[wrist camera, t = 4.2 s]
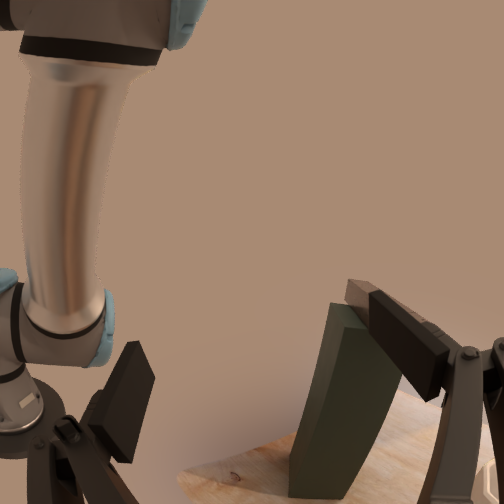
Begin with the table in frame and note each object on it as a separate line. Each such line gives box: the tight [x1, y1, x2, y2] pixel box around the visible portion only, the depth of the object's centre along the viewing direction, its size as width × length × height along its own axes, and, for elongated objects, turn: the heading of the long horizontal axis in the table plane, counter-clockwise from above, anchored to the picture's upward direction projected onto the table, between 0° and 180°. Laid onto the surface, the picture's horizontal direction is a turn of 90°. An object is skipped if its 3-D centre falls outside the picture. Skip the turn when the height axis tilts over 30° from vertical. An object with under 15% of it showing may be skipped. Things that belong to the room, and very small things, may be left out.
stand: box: [288, 303, 402, 499], centre depth 32 cm, size 8×10×27 cm
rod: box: [345, 279, 429, 329], centre depth 28 cm, size 3×22×3 cm, turn 173°
